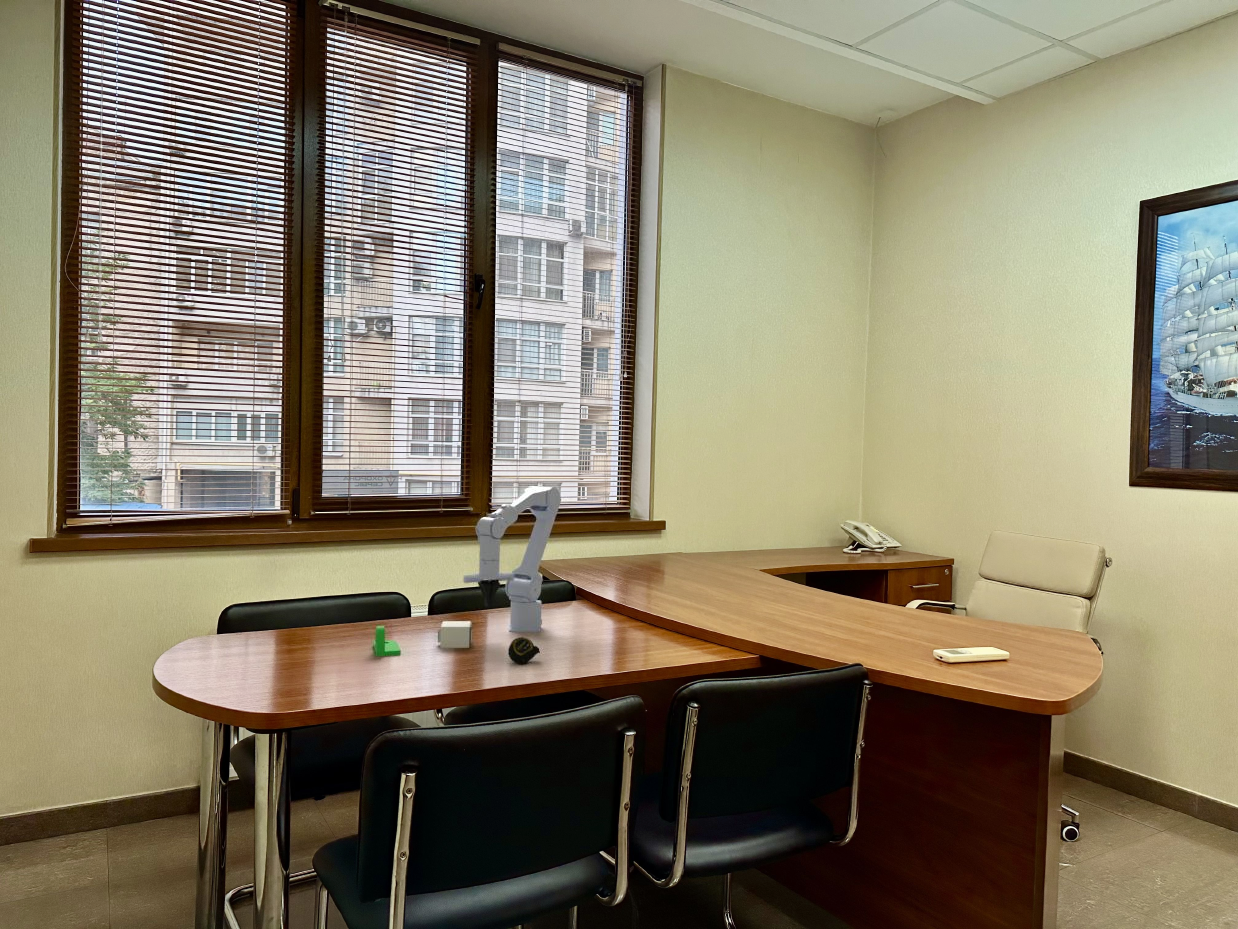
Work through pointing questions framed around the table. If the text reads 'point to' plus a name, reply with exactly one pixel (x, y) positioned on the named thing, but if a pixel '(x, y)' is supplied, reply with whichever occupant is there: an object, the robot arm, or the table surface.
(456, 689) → the table surface
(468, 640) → the white block
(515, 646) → the tape measure
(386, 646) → the mechanical part
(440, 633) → the steel pin
